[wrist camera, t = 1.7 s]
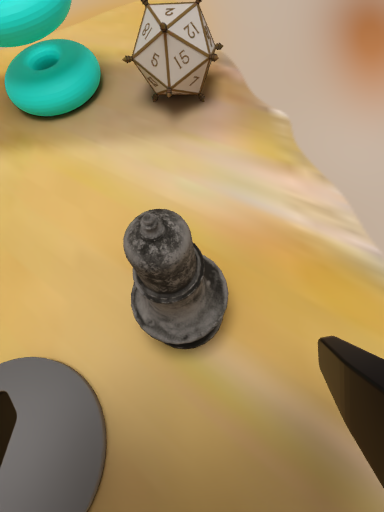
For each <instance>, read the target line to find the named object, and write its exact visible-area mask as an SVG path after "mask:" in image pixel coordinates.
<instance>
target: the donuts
mask: <svg viewBox="0 0 384 512" xmlns="http://www.w3.org/2000/svg"><path fill="white" fill-rule="evenodd" d="M70 5H71V0H0V47H16V46H22V45H26V44H30V43H33V42H35V41H38V40H40V39H42V38H44V37H46V36H47V35H49V34H50V33H52V32H53V31H54V30H55V29H56V28H58V26H60V24H61V23H62V22H63V21H64V19H65V17H66V16H67V14H68V12H69V9H70ZM100 76H101V72H100V66H99V63H98V61H97V59H96V57H95V56H94V54H93V53H92V52H91V51H90V50H89V49H88V48H86V47H85V46H83V45H82V44H80V43H77V42H74V41H71V40H65V39H52V40H46V41H42V42H39V43H36V44H34V45H31V46H29V47H28V48H26V49H24V50H23V51H22V52H20V53H19V54H18V55H17V56H16V57H15V58H14V59H13V60H12V62H11V63H10V65H9V66H8V69H7V71H6V74H5V88H6V92H7V94H8V96H9V98H10V99H11V101H12V102H13V103H14V104H15V105H16V106H17V107H18V108H19V109H21V110H23V111H25V112H27V113H29V114H32V115H37V116H55V115H60V114H64V113H67V112H70V111H72V110H74V109H76V108H78V107H80V106H81V105H83V104H84V103H85V102H86V101H88V100H89V99H90V98H91V97H92V95H93V94H94V93H95V91H96V89H97V87H98V85H99V82H100Z"/></svg>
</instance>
